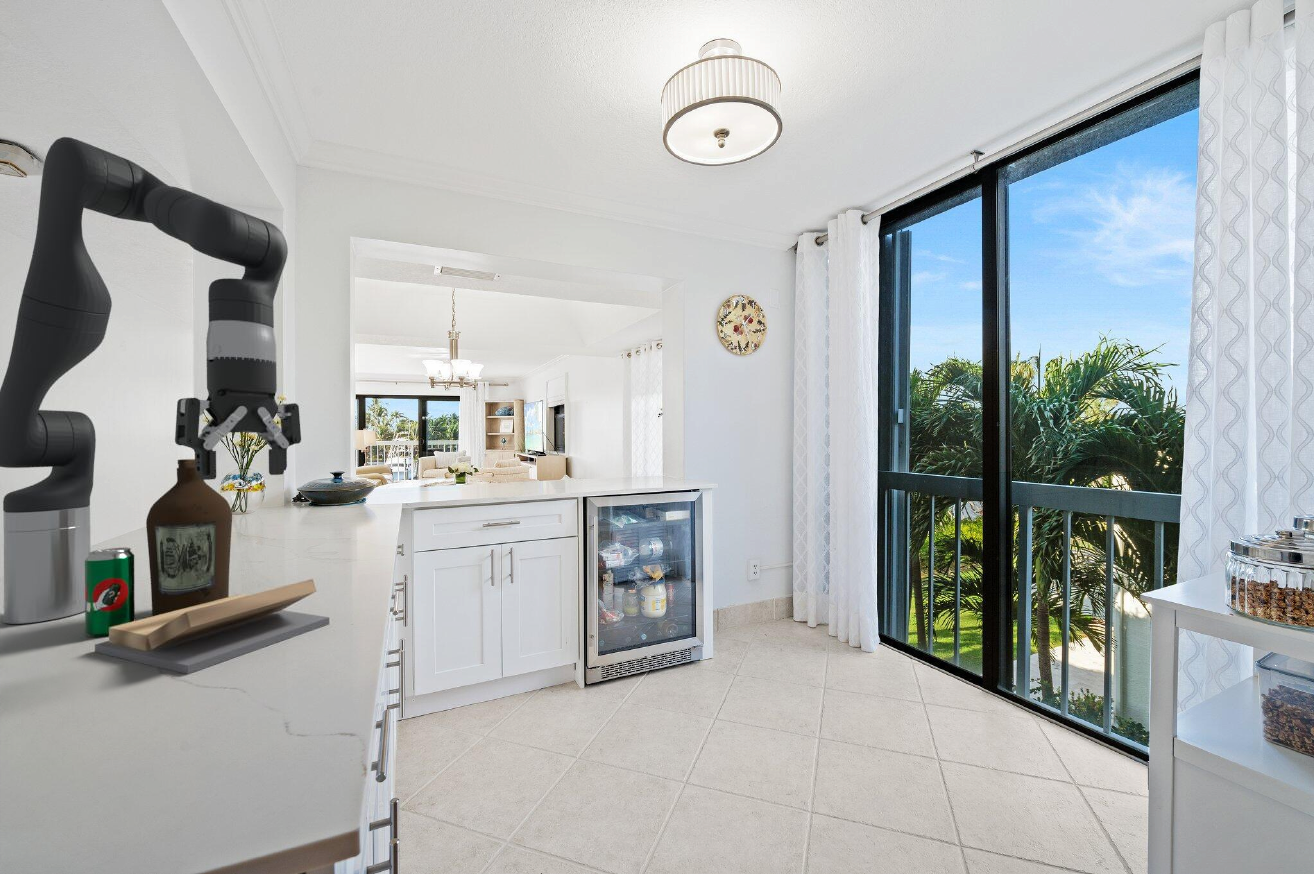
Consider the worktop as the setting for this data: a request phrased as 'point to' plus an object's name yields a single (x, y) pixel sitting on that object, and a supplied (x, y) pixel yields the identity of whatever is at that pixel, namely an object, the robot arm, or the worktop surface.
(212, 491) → the brown bottle
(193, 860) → the worktop surface
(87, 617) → the soda can
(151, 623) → the oak plank
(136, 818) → the worktop surface
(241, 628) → the gray flat board
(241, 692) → the worktop surface
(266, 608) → the brown wooden board
